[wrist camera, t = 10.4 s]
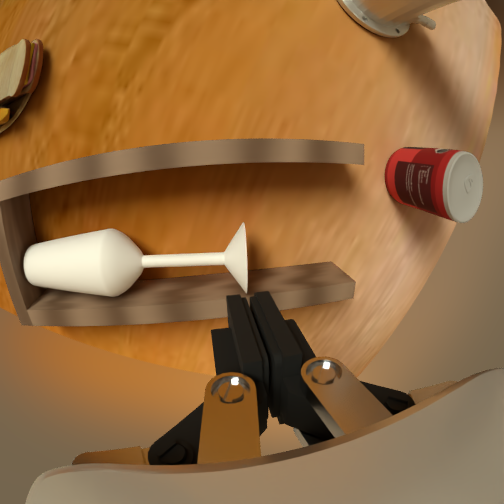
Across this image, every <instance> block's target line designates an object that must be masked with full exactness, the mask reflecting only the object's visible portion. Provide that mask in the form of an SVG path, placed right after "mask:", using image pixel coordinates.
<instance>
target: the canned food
mask: <svg viewBox="0 0 504 504" xmlns="http://www.w3.org/2000/svg"><path fill="white" fill-rule="evenodd" d="M385 182H386V187H387V189H388V191H389V193H390V195H391V196H392V197H393V198H394V199H395V200H396V201H398V202H399V203H401V204H404V205H407V206H410V207H414V208H417V209H420V210H423V211H426V212H429V213H432V214H434V215H437V216H440V217H443V218H446V219H449V220H452V221H455V222H459V223H465V222H467V221H469V220H470V219H471V218H472V217H473V216H474V215H475V213H476V212H477V209H478V207H479V204H480V202H481V198H482V191H483V176H482V171H481V167H480V164H479V162H478V160H477V159H476V157H475V156H474V155H473V154H471V153H469V152H465V151H459V150H450V149H437V148H419V147H404V148H401V149H399V150H397V151H396V152H394V153H393V154H392V155H391V157H390V158H389V160H388V162H387V165H386V169H385Z"/></svg>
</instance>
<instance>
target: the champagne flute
mask: <svg viewBox="0 0 504 504" xmlns="http://www.w3.org/2000/svg"><path fill="white" fill-rule="evenodd" d="M208 265H225V266H226V267H227V269H228V270H229V271H230V273H231V274H232V275H233V277H234V278H235V279H236V281H237V282H238V283H239V285H240V286H241V287H242V289H243V290H244V291H245V293H246V294H247V283H248V272H247V246H246V233H245V225H244V222H243V223H242V225H241V226H240V228H239V229H238V231H237V233H236V234H235V236H234V237H233V239H232V240H231V242H230V244H229V245H228V247H227V248H226V250H225V252H218V253H192V254H167V255H143V253H142V252H141V250H140V249H139V247H138V246H137V245H136V244H135V243H134V242H133V241H132V240H131V239H130V238H129V237H128V236H127V235H125V234H124V233H122V232H120V231H118V230H116V229H105V230H100V231H94V232H89V233H84V234H79V235H74V236H69V237H65V238H60V239H55V240H51V241H46V242H42V243H37V244H33V245H31V246H30V247H29V248H28V249H27V251H26V253H25V256H24V272H25V275H26V278H27V280H28V281H29V282H30V283H31V284H32V285H34V286H40V287H46V288H52V289H58V290H65V291H72V292H79V293H86V294H94V295H102V296H110V297H115V296H119V295H120V294H122V293H124V292H125V291H127V290H128V289H129V288H130V287H131V286H132V285H133V283H134V282H135V281H136V280H137V279H138V277H139V276H140V275H141V273H142V271H143V269H144V268H150V267H180V266H208Z"/></svg>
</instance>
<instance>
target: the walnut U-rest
mask: <svg viewBox="0 0 504 504" xmlns="http://www.w3.org/2000/svg"><path fill="white" fill-rule="evenodd" d="M258 162H317V163H343V164H360V165H364V144H358V143H348V142H337V141H323V140H304V139H226V140H207V141H193V142H182V143H171V144H162V145H154V146H146V147H139V148H132V149H126V150H120V151H114V152H108V153H103V154H98V155H93V156H88V157H83V158H78V159H74V160H70V161H66V162H62V163H58V164H54V165H50V166H46V167H43V168H39V169H35V170H32V171H29V172H25V173H22V174H19V175H16V176H13V177H10V178H7V179H4V180H1V181H0V263H1V267H2V271H3V274H4V277H5V281H6V284H7V287H8V290H9V293H10V296H11V299H12V301H13V304H14V307H15V309H16V312H17V315H18V317H19V320H20V322H21V324H22V325H29V326H110V325H135V324H153V323H168V322H181V321H193V320H204V319H214V318H223V317H228V314H227V302H226V296H227V295H236V294H240V295H241V298H242V297H246V299H247V301H248V304H249V307H250V300H249V299H250V297H251V296H254V293H255V292H262V291H269V292H270V294H271V296H272V298H273V300H274V302H275V304H276V305H277V307H278V309H279V311H280V310H286V309H293V308H300V307H306V306H312V305H318V304H324V303H330V302H336V301H341V300H347V299H352V298H353V297H354V290H355V283H356V282H355V281H354V280H353V279H352V278H351V277H350V276H348V275H347V274H346V273H345V272H343V271H342V270H341V269H340V268H339V267H337V266H336V265H335V264H334V263H333V262H323V263H315V264H306V265H297V266H287V267H278V268H269V269H259V270H249V271H247V272H248V283H247V294H246V293H245V291H244V290H243V289H242V287H241V286H240V285H239V283H238V282H237V281H236V279H235V278H234V277H233V275H232V274H231V273H230V272H229V273H219V274H208V275H198V276H187V277H175V278H164V279H152V280H140V281H135V282H134V283H133V285H132V286H131V287H130V288H129V289H128V290H127V291H125V292H124V293H122V294H120V295H119V296H115V297H110V296H102V295H94V294H86V293H79V292H72V291H65V290H58V289H52V288H46V287H40V286H34V285H32V284H31V283H30V282H29V281H28V280H27V278H26V275H25V272H24V256H25V253H26V251H27V249H28V248H29V247H30V246H31V245H33V244H37V241H36V236H35V231H34V225H33V219H32V213H31V206H30V199H29V193H31V192H35V191H39V190H43V189H48V188H52V187H56V186H61V185H65V184H70V183H75V182H80V181H85V180H91V179H96V178H102V177H108V176H114V175H120V174H127V173H134V172H142V171H150V170H158V169H167V168H177V167H187V166H200V165H214V164H231V163H258Z"/></svg>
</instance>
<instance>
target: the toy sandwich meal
mask: <svg viewBox="0 0 504 504" xmlns="http://www.w3.org/2000/svg"><path fill="white" fill-rule="evenodd" d="M42 63H43V44H42V41H41V40H38V39H35V40H33V41H32V42H31V43H30V42H29V40H26V39H22V40H21V41H20V42H19V43H18V44H17V45H14V46H12V47H10V48H8V49H7V50H5V51H4V52H3V53H1V54H0V133H1V132H3V131H4V130H6V129H7V128H8V127H9V126H10V125H11V124H12V123H13V122H14V121H15V120H16V119H17V117H18V116H19V115H20V113H21V112H22V110H23V109H24V107H25V105H26V103H27V102H28V100H29V98H30V95H31V93H33V92H34V90H35V89H36V86H37V84H38V81H39V77H40V73H41V69H42Z"/></svg>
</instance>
